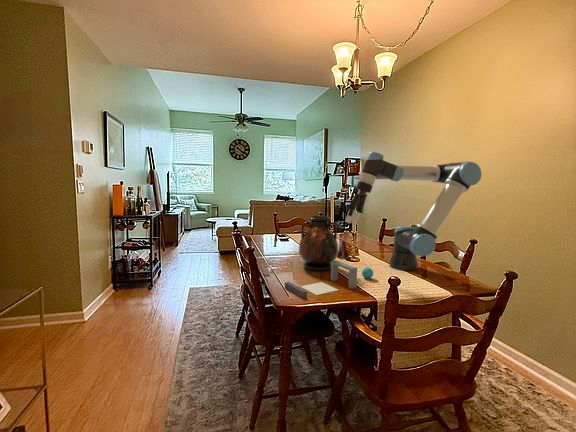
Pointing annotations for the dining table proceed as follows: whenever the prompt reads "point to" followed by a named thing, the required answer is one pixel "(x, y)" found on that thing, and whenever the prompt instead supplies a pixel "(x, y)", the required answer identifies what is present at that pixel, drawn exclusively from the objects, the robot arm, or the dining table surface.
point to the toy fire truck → (342, 249)
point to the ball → (367, 272)
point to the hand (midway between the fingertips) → (350, 223)
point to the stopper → (296, 290)
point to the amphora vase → (318, 244)
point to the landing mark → (319, 288)
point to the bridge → (351, 269)
